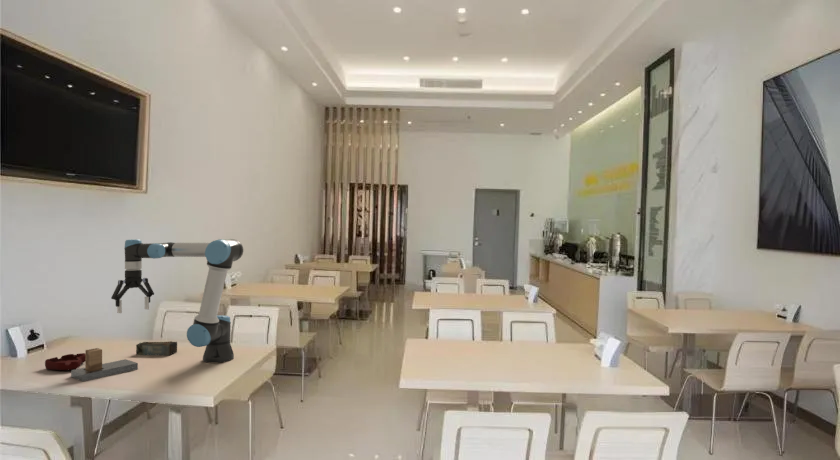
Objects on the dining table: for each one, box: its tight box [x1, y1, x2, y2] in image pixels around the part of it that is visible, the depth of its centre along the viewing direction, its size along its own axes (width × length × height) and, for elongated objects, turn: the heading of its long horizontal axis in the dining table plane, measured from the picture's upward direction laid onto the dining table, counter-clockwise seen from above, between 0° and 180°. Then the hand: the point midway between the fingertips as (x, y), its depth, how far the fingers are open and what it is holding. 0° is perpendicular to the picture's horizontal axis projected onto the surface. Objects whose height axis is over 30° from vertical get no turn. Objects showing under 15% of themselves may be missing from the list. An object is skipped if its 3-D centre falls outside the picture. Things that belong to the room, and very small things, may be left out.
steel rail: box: [70, 358, 139, 382], centre depth 238 cm, size 12×24×3 cm, turn 146°
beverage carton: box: [135, 340, 178, 356], centre depth 275 cm, size 8×19×7 cm, turn 89°
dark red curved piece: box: [44, 352, 86, 372], centre depth 246 cm, size 18×16×5 cm
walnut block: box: [84, 347, 103, 372], centre depth 234 cm, size 5×5×12 cm
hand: (133, 311), depth 256 cm, fingers open, 13 cm apart
